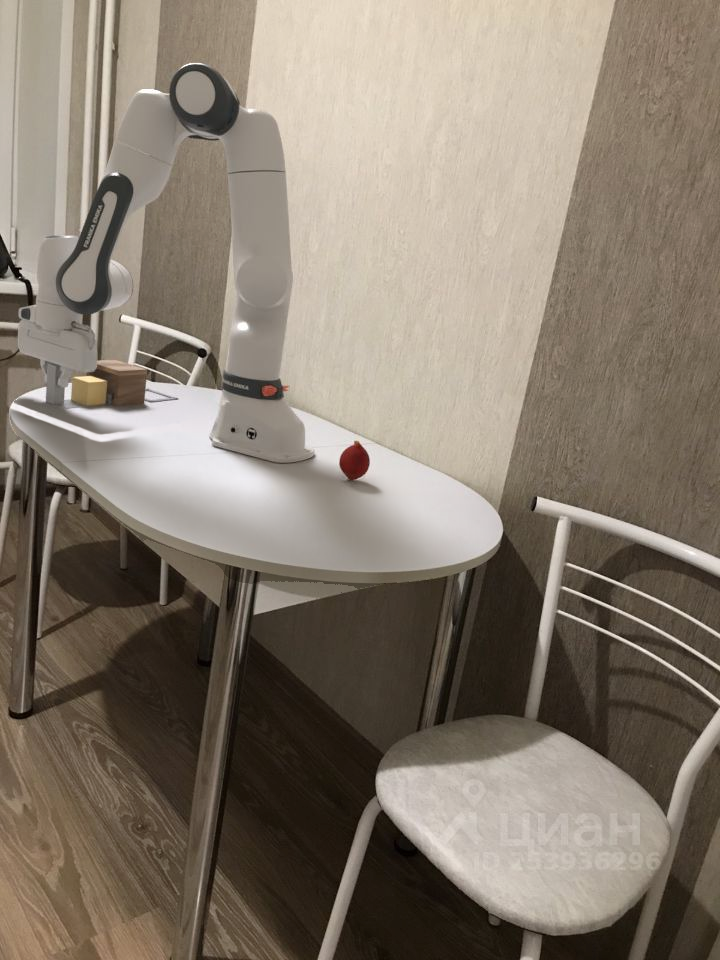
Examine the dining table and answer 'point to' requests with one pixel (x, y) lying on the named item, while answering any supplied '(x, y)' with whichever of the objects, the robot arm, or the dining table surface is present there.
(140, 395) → the brown wooden box
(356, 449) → the onion
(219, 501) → the dining table surface
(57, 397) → the grey angled piece
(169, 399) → the thin grey frame
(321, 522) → the dining table surface
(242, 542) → the dining table surface
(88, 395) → the block
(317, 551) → the dining table surface
